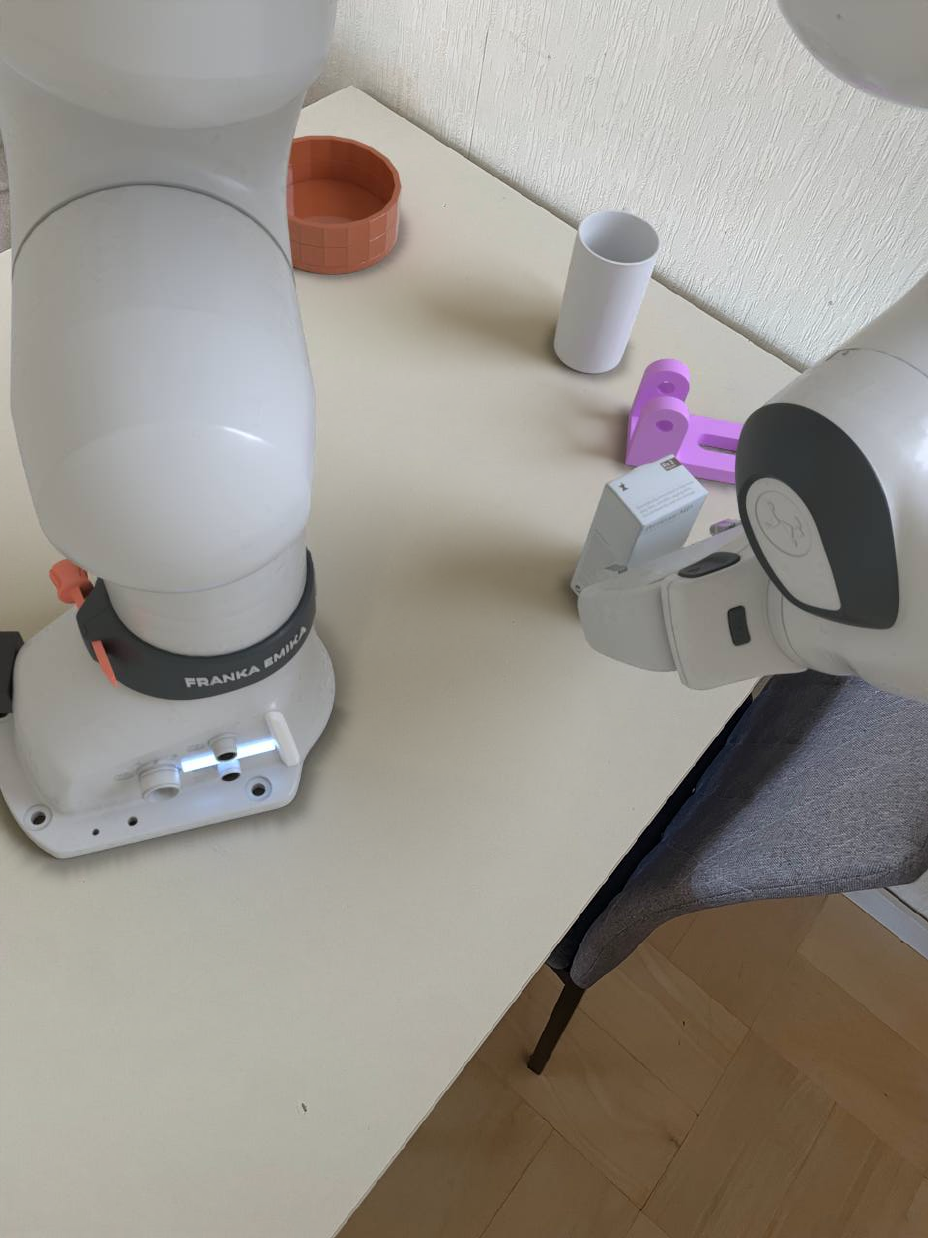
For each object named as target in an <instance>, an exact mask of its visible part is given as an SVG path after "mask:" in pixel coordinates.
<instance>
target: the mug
mask: <svg viewBox="0 0 928 1238" xmlns="http://www.w3.org/2000/svg"><path fill="white" fill-rule="evenodd" d="M661 248H662V239H661V236H660V234H659V232H658V231H657V229H656V227H654V225H653V224H652V223H650V222H649V221H648V220H647V219H646V218H644V217H642V216H640V215H638V214H636V213H635V210H634V209H633V208H631V207H629V206H626V207H623V208H622V209H617V208H616V209H615V208H610V209H609V208H606V209H600V210H595V211H593V212H590V213H588V214H587V215H586V216H584V217H583V218H582V220H580V222H579V224H578V227H577V232H576V235H575V239H574V244H573V247H572V252H571V257H570V262H569V265H568V266H569V267H568V270H567V275H566V276H567V277H566V280H565V285H564V291H563V295H562V298H561V299H562V300H561V304H560V309H559V314H558V317H557V322H556V326H555V333H554V337H553V338H554V339H553V349H554V352H555V354H556V356H557V358H559V360H560V361H561V362H562V363H563V364H564V365H565V366H566V367H569V368H570V369H572V370H575V371H577V372H581V373H584V374H590V375H591V374H595V375H596V374H597V375H598V374H603V373H606V372H609V371H611V370H613V369H614V368H616V367H617V366H618V364H619V363H620V362H621V360H622V358H623V355H624V353H625V350H626V348H627V345H628V343H629V339H630V336H631V334H632V331H633V329H634V325H635V322H636V319H637V317H638V313H639V311H640V308H641V305H642V303H643V300H644V297H645V294H646V292H647V289H648V286H649V283H650V281H651V278H652V274H653V272H654V269H655V266H656V263H657V260H658V256H659V254H660V251H661Z"/></svg>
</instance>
